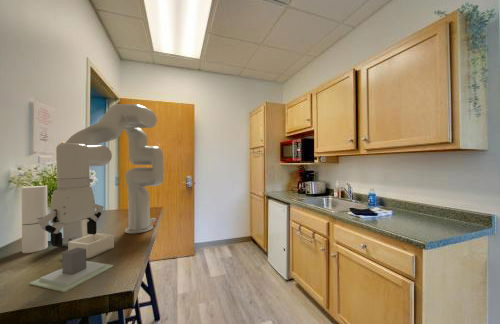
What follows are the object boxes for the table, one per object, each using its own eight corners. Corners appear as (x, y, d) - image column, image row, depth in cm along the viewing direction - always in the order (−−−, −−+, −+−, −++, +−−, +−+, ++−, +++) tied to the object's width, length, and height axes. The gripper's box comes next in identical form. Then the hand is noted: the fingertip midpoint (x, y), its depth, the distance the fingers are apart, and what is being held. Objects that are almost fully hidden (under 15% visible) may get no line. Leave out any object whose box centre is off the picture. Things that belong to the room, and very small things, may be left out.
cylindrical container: (52, 246, 85) (51, 185, 85) (28, 254, 78) (28, 187, 78) (41, 244, 87) (40, 185, 87) (17, 251, 80) (17, 187, 81)
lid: (81, 262, 70) (80, 242, 70) (105, 266, 66) (105, 245, 66) (39, 280, 59) (39, 256, 59) (66, 286, 56) (66, 261, 56)
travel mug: (72, 247, 84) (71, 198, 84) (59, 246, 85) (58, 197, 85) (87, 241, 90) (86, 195, 90) (74, 240, 91) (74, 195, 92)
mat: (82, 261, 71) (82, 260, 71) (113, 266, 67) (113, 265, 67) (29, 284, 58) (29, 282, 58) (64, 292, 54) (64, 290, 54)
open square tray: (95, 245, 86) (95, 233, 86) (114, 247, 83) (113, 235, 83) (68, 255, 76) (68, 242, 76) (88, 258, 73) (88, 244, 73)
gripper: (93, 180, 72) (94, 229, 73) (28, 187, 56) (30, 250, 56) (110, 181, 70) (111, 231, 70) (47, 188, 54) (50, 253, 54)
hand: (75, 239), depth 63 cm, fingers open, 9 cm apart
